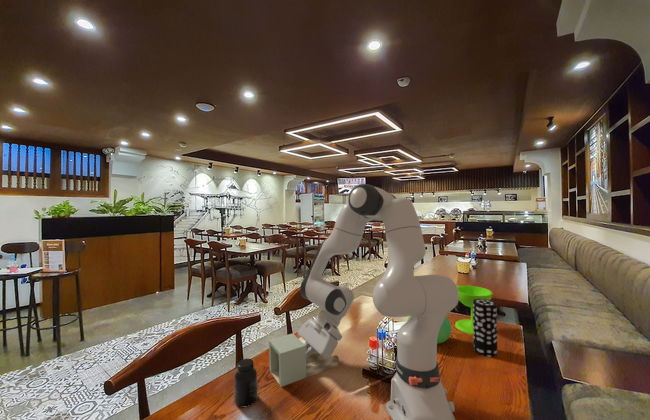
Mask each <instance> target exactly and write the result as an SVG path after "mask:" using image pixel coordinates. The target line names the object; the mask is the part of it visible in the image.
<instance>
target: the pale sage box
mask: <svg viewBox="0 0 650 420" xmlns="http://www.w3.org/2000/svg"><path fill="white" fill-rule="evenodd" d="M268 353H269V354H268V355H269V356H268V358H269V359H268V361H269V372H270V373H271V372H274V371H277V370H278V355H279V383H278V385H279V387H280V388H282V386H283V387H285V386H287V385H290V383H291V384H294V383H296V382H298V381H301V380H303V378H304V379H306V378H308V377H307V375H306V345H305V342H303V341H302V340H300V339H299V338H298V337H297V336H296V335H295V334H294V333H289V334H285V335H282V336H279V337H275V338H271V339H269V340H268ZM295 381H296V382H295Z"/></svg>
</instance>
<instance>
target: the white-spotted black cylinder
mask: <svg viewBox="0 0 650 420" xmlns="http://www.w3.org/2000/svg"><path fill="white" fill-rule="evenodd" d="M472 336H473V351H474V353H476V354H478V355H480V356H482V357H487V358H494V357H496V356H498V304H497V302H496V301H493V300H487V299H474V300H473V335H472Z"/></svg>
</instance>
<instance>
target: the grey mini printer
mask: <svg viewBox="0 0 650 420" xmlns="http://www.w3.org/2000/svg"><path fill="white" fill-rule="evenodd" d="M308 350H309V348H308ZM339 363H340V362H339V356H338V355H337V354H336V355H331V356H330V357H329V358H327V359H325V358H324V357H322V356H321V355H320V354H319V353H318V352H317V351H315V352H314V353H313V354H312V355H310V356H309V357H308V359H307V360H306V375H307V377H306V378H308V377H312V376H314V375H316V374H319V373H321V372H323V371H327V370H329V369H332V368H335V367H337V366H339ZM270 374H271V375H272V376H273V377H274V379H275V380H276V382H277V383H278V384H279V371H278V370H277V371H274V372H270ZM303 379H305V378H303ZM303 379H302V380H303ZM296 382H297V381H295V382H294V383H296ZM290 384H292V383H290ZM290 384H289V385H290ZM282 387H284V386H282ZM282 387H281V388H282Z"/></svg>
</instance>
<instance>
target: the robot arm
mask: <svg viewBox="0 0 650 420" xmlns="http://www.w3.org/2000/svg"><path fill="white" fill-rule="evenodd" d="M371 221H372V222H374V223H383V226H384V227H383V228H384V234H385V238H386V248H387V252H388V253H387V256H388V261H387V266H386V270H385V272H384V274H383V276H382V277H381V279H379V281H377V282H376V284H375V286H374V288H373V291H372V303H373V306H374V307H375V309H376V310H377V312H378V313H379V314H380V315H382V316H384V317H391V318H406V317H409V316H411V317H410V319H409V320H408V319H407V321H406V322H405V323H404V324H402V325H401V326H400V327H399V329H398V331H397V334H396V351H397V355H396V357H395V371H396V372H395V373H394V375H393V377H392V378H391V381H390V382H391V383H390V384H391V385H390V386H391V387H390V400H388V401H387V402H386V404H385V410H386V412H387V413H388V415H389V417H390V416H391V417H390V418H391V419H393V420H456V418H455V416H454V412H455V404H454V401H448V399H447V395H448V389H447V388H446V387H444V385H443V383H442V378H441V374H440V367H439V362H438V357H437V356H438V352H437V351H438V344H437V339H438V334H439V331H440V328H441V325H442V323H443V321H444V319H445V318H446V317H447V316H448V315H449V314H450V313H451V311H452V310H453V309H455V308H456V307H457V306H458V303H459V302H460V301H459V292H458V288H457V287H458V286H457V285H456V283H455V282H454V281H453V279H451V277H449V276H445V275H437V274H423V275H414V269H415V268H414V267H415V265H416V264H418V263H419V262H420V261H422V260H423V258H424V257H425V255H426V252H427V251H426V250H427V249H426V245H425V241H424V236H423V232H422V227H421V222H420V219H419V215H418V213H417V211H416V208H415V206H414V205H413V202H412V201H411V200H410V199H407V198H406V197H405V198H403V197H396V196H395V195H393V194H392V193H389V192H388V191H385V190H384V189H383V188H380V187H378V186H377V187H376V186H374V185H372V184H367V183H359V184H357V185H355V186H354V187H353V188H352V189H351V191H350V192H349V193H348V201H347V202H346V203H344V204H343V206H342V207H341V209H340V211H339V213H338V215H337V218H336V221H335V224H334V226H333V230H332V232H331V234H330V235H329V236H328V237H326V238H325V239H324V240H323V241H322V242H321V244H320V246H319V247H318V249H317V252H316V254H315V256H314V258H313V259H312V260H313V261H311V262H312V263H311V264H310V267H309V268H308V269H309V270H308V271H307V273H306V275H305V276H304V278H303V279H302V281H301V283H300V289H299V290H300V294H301V297H302V298H303V299H306V300H307V301H309V302H311V303H312V304H314V305H315V306H317V307H318V308H320V309H321V310H320V311H319V312H318V314H317V315H316V316H312V317H309V319H307V320H306V321H305V322H304V323H303V324H302V326H301V327H300V328H299V329H298V331H297V335H298V336H299V337H300V338H301V339H302V340H304V341H305V342H304V344H305V345H306V360H307V359H308V357H309V356H310V355H312V354H313V353H314V352H315V351H317V352H318V353H319V354H320V355H321V356H322V357H324V358H325V359H327V358H329V357H332V356H333V353H334V352H335V349H336V348H337V346H338V342H340V341H341V339H343V335H342V334H341V331H340V330H339V325H340V324H341V321H342V319H343V318H344V317H345V316H347V313H348V312H349V310H350V309H351V306H352V305H353V302H354V299H355V295H354V292H353V290H352V289H350V287H348V286H347V285H344V284H341V285H334V284H333V283H330V282H328V281H327V280H326V279H324V278H323V273H324V271H325V269H326V267H327V265H328V264H329V263H328V262H329V260H330V259H331V258H332V257H333V256H336V255H338V256H339V255H349V254H351V253H354V252H356V251H357V250H358V248H359V246H360V244H361V242H362V238H363V235H364V231H365V228H366V226H367V224H368V223H369V222H371ZM308 349H309V350H308Z"/></svg>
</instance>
